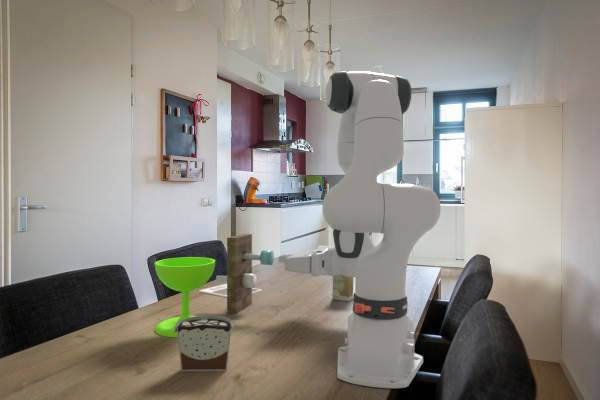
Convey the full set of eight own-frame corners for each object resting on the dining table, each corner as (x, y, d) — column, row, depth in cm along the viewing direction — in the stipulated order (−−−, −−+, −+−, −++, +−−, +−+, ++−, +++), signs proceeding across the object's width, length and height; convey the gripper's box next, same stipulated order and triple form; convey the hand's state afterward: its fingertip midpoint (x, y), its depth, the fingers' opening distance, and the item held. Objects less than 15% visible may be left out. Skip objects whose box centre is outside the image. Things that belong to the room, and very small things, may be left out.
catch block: (251, 303, 143) (251, 234, 143) (236, 313, 132) (236, 237, 131) (243, 303, 144) (243, 233, 144) (227, 312, 133) (227, 237, 132)
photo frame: (227, 283, 172) (262, 289, 162) (227, 285, 172) (262, 292, 162) (199, 289, 160) (234, 297, 150) (199, 292, 160) (234, 300, 150)
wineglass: (153, 322, 123) (153, 258, 123) (210, 316, 129) (210, 255, 129) (156, 340, 108) (155, 268, 108) (220, 333, 114) (220, 264, 114)
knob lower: (256, 286, 139) (256, 272, 139) (250, 289, 134) (250, 275, 134) (220, 283, 142) (220, 270, 142) (213, 286, 138) (213, 272, 138)
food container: (237, 359, 97) (237, 314, 97) (233, 370, 91) (233, 322, 90) (181, 359, 96) (181, 314, 96) (174, 371, 90) (173, 323, 90)
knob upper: (274, 263, 137) (274, 249, 137) (269, 266, 133) (269, 251, 132) (237, 261, 140) (237, 248, 140) (231, 264, 136) (231, 250, 136)
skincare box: (331, 299, 149) (332, 264, 149) (336, 296, 153) (337, 262, 153) (349, 301, 146) (349, 265, 146) (354, 299, 150) (354, 263, 150)
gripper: (331, 245, 140) (290, 243, 144) (315, 254, 120) (268, 252, 124) (331, 265, 140) (290, 262, 144) (315, 277, 120) (268, 274, 124)
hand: (280, 258), depth 134 cm, fingers closed
